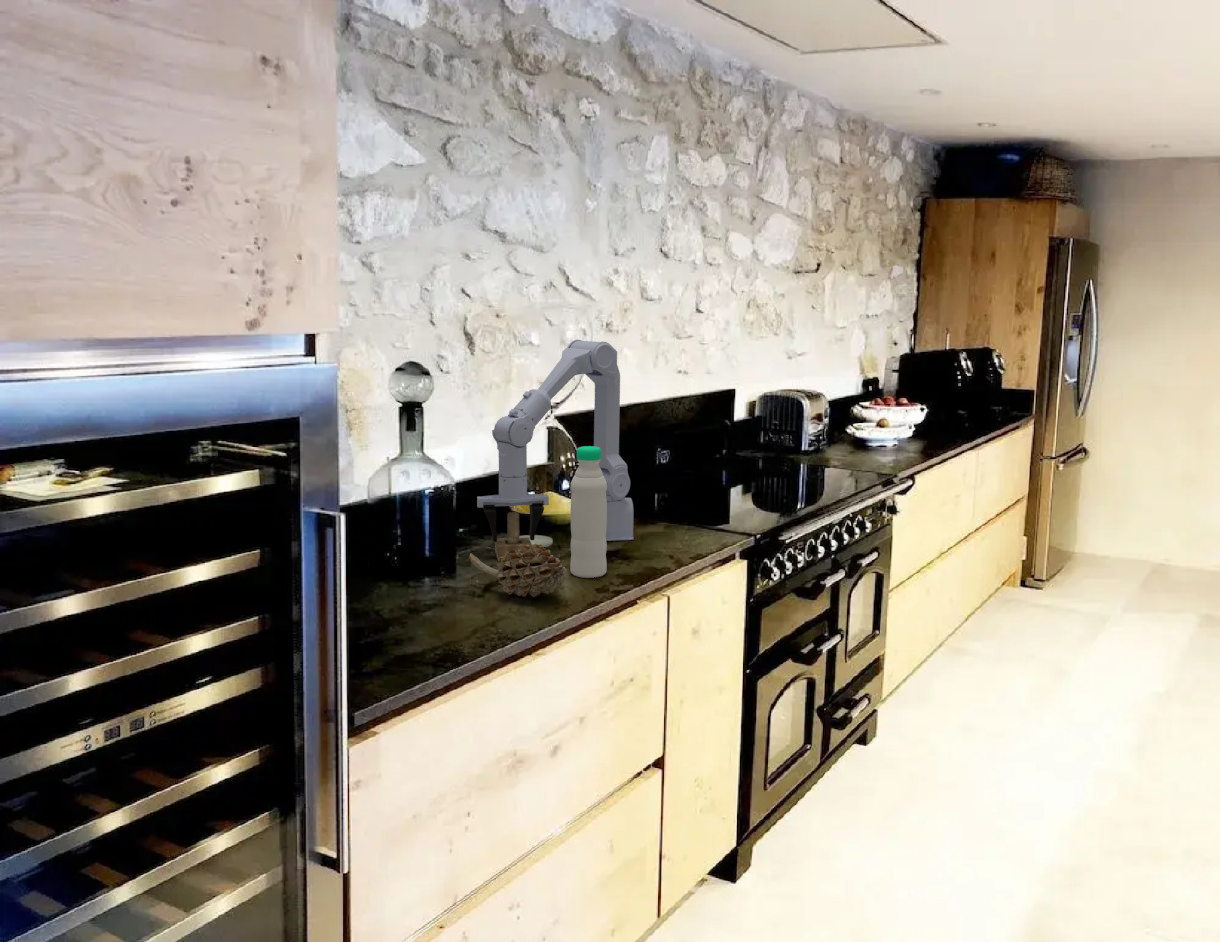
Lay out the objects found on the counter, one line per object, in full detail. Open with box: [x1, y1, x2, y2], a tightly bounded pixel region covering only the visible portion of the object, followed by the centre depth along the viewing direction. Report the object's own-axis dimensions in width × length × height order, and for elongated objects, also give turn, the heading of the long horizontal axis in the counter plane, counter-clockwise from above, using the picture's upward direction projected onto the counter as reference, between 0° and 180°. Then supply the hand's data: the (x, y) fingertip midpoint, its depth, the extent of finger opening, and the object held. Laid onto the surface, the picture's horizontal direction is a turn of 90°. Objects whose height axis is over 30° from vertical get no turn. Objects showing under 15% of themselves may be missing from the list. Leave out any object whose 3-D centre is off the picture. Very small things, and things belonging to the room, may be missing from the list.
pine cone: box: [468, 544, 567, 598], centre depth 198 cm, size 22×10×10 cm, turn 61°
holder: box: [494, 537, 532, 562], centre depth 225 cm, size 7×7×3 cm
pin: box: [506, 511, 520, 544], centre depth 224 cm, size 2×2×9 cm
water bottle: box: [570, 445, 608, 579], centre depth 210 cm, size 7×7×25 cm
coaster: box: [519, 534, 554, 548], centre depth 236 cm, size 9×9×1 cm
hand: (513, 540), depth 224 cm, fingers open, 7 cm apart
